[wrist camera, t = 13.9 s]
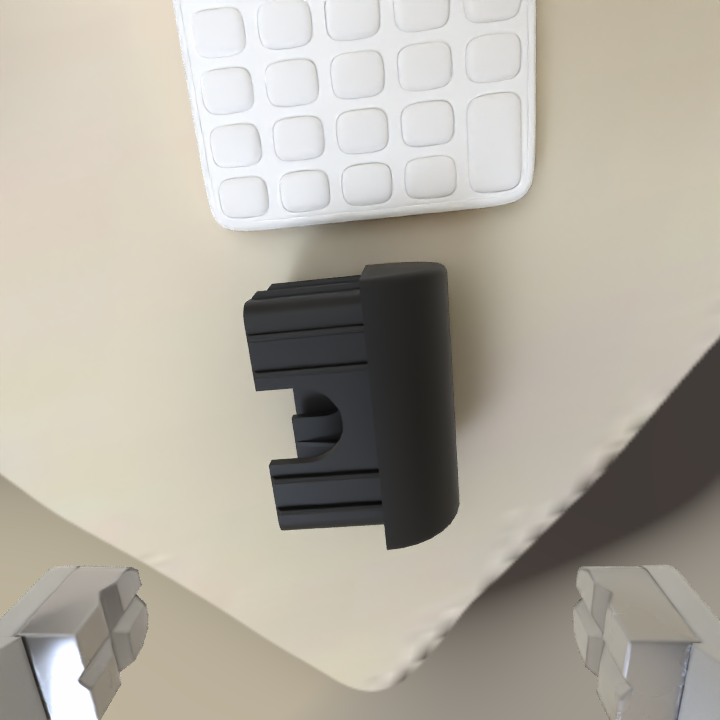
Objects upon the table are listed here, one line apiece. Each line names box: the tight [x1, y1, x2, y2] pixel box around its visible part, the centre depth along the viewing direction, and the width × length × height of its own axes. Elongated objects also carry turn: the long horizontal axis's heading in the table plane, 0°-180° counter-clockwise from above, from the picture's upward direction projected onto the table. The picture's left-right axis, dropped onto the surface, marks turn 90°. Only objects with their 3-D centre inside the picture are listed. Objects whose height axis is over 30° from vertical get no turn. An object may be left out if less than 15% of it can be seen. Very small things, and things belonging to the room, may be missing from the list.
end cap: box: [243, 262, 459, 550], centre depth 19 cm, size 10×7×7 cm
